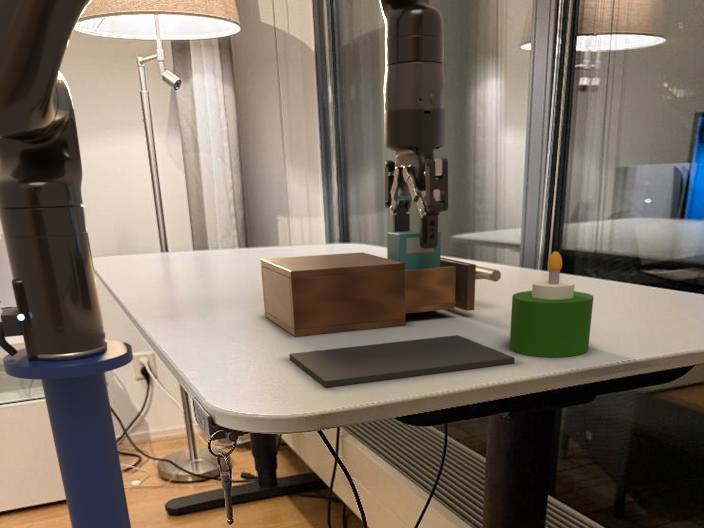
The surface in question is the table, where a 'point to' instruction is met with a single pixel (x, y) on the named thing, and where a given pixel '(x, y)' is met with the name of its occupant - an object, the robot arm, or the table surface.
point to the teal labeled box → (412, 250)
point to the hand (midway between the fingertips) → (414, 245)
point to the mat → (397, 360)
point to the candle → (551, 317)
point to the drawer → (444, 286)
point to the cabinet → (333, 292)
